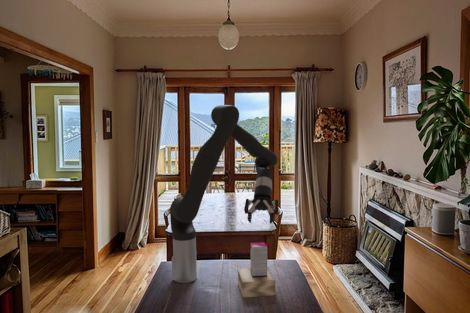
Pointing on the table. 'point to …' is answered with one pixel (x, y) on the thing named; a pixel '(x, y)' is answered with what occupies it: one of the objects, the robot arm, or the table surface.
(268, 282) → the birch block
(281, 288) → the table surface
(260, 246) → the supplement box
